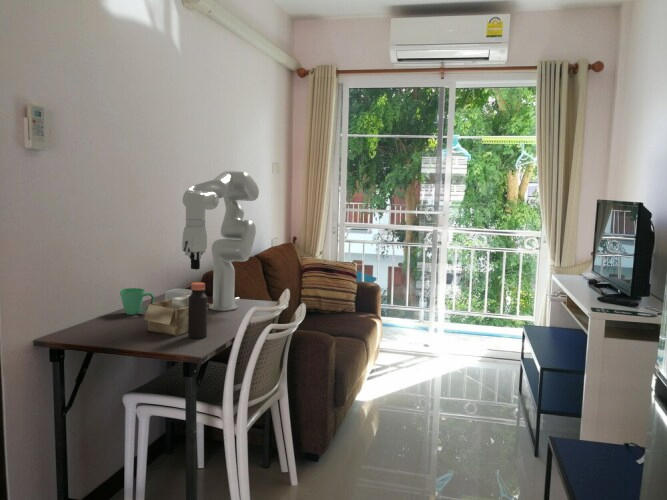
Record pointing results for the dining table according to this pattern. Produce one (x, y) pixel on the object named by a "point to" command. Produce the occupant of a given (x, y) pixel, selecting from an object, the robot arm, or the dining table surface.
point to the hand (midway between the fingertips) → (195, 268)
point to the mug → (134, 300)
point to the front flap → (159, 314)
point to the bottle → (197, 311)
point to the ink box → (176, 293)
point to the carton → (173, 317)
